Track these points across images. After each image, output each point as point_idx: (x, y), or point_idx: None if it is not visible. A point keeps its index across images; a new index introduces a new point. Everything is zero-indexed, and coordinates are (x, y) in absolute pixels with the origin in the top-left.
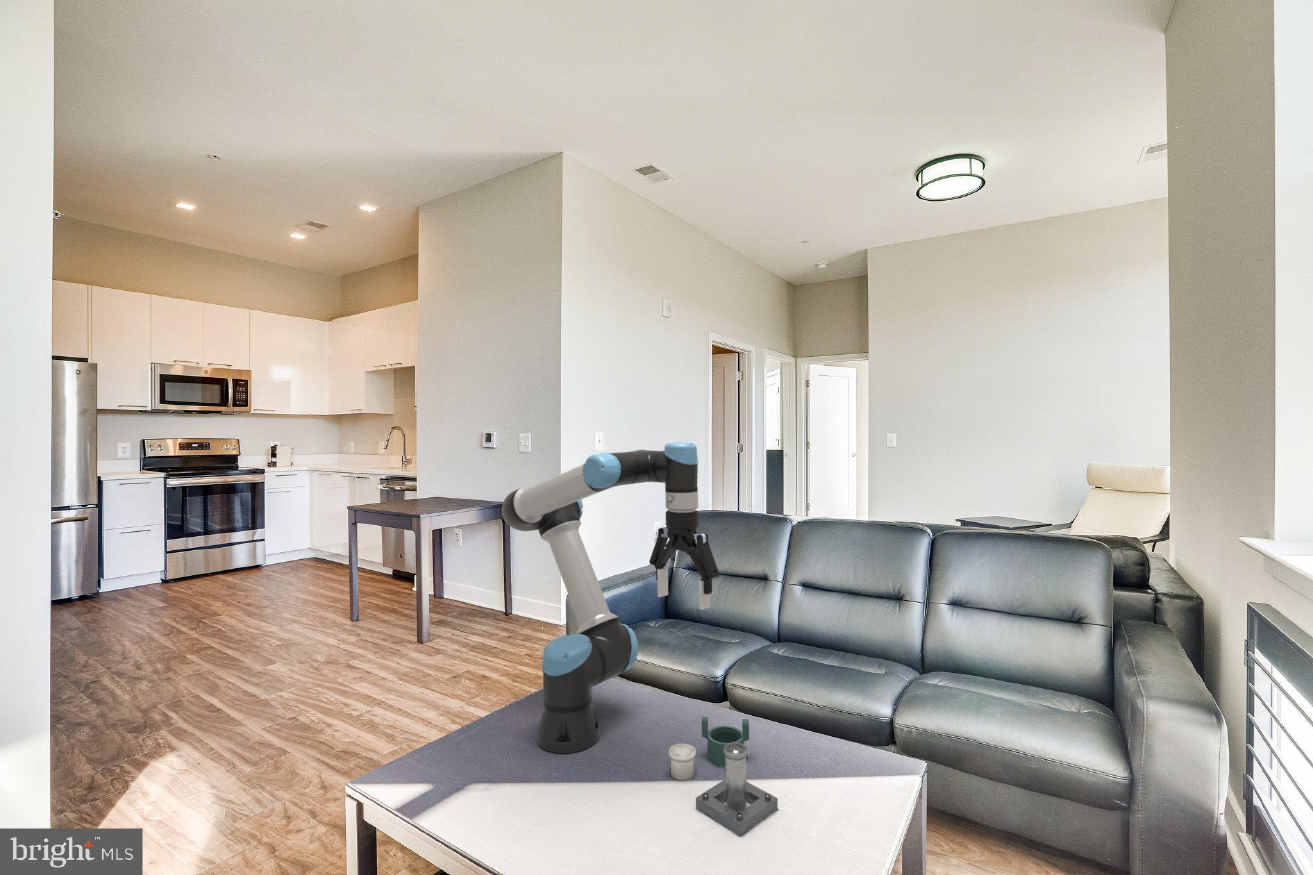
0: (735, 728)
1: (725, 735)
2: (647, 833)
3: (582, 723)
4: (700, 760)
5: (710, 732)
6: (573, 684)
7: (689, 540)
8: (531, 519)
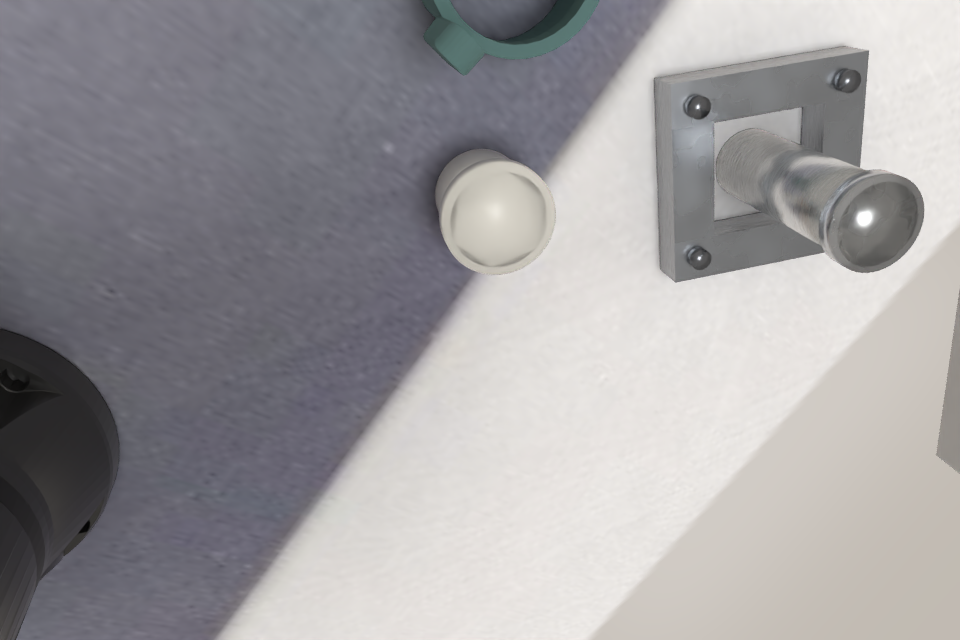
0: None
1: None
2: (647, 435)
3: (70, 487)
4: (450, 76)
5: (455, 10)
6: None
7: None
8: None
